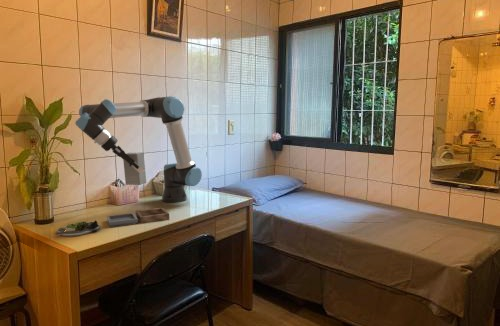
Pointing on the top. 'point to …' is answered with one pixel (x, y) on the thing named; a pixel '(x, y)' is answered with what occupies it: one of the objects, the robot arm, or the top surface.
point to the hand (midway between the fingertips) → (141, 171)
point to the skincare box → (130, 173)
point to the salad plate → (79, 229)
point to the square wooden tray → (152, 215)
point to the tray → (122, 220)
